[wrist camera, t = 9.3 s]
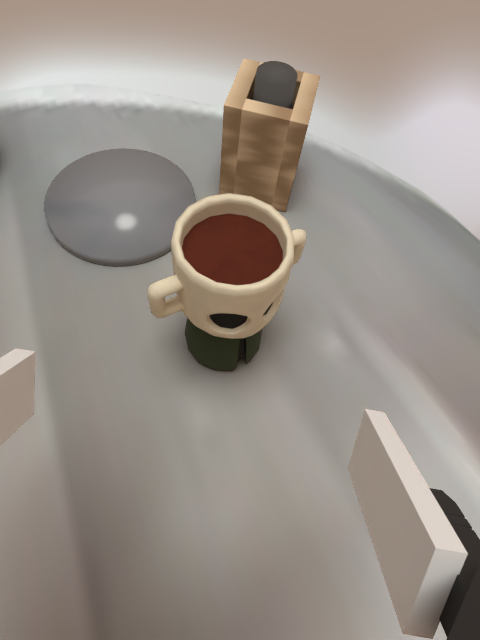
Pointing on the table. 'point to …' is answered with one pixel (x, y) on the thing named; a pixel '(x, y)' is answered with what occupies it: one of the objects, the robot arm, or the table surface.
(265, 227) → the character mug
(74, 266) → the table surface
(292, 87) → the dark grey tall cylinder
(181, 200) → the coaster
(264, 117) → the block
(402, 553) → the robot arm
